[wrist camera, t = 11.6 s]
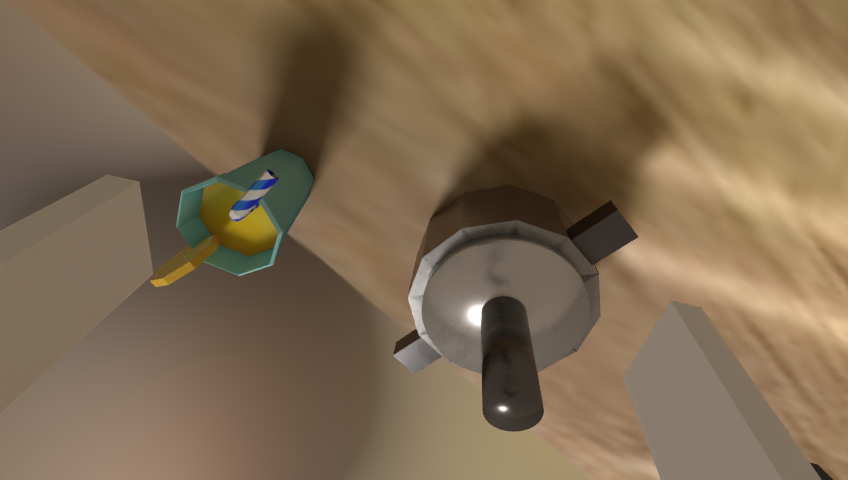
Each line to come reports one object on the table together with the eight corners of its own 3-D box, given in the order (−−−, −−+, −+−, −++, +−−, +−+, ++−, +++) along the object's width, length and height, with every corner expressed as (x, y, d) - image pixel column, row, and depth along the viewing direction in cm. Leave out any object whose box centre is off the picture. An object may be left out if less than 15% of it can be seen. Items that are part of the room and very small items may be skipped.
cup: (304, 81, 36) (205, 126, 22) (374, 150, 38) (321, 227, 25) (214, 190, 41) (93, 276, 28) (280, 244, 43) (195, 349, 30)
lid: (444, 216, 32) (432, 300, 23) (613, 258, 32) (669, 358, 23) (408, 345, 38) (388, 452, 29) (551, 380, 39) (575, 497, 30)
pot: (458, 363, 48) (456, 415, 42) (361, 272, 44) (343, 316, 38) (650, 250, 40) (682, 295, 33) (552, 123, 35) (569, 148, 29)
